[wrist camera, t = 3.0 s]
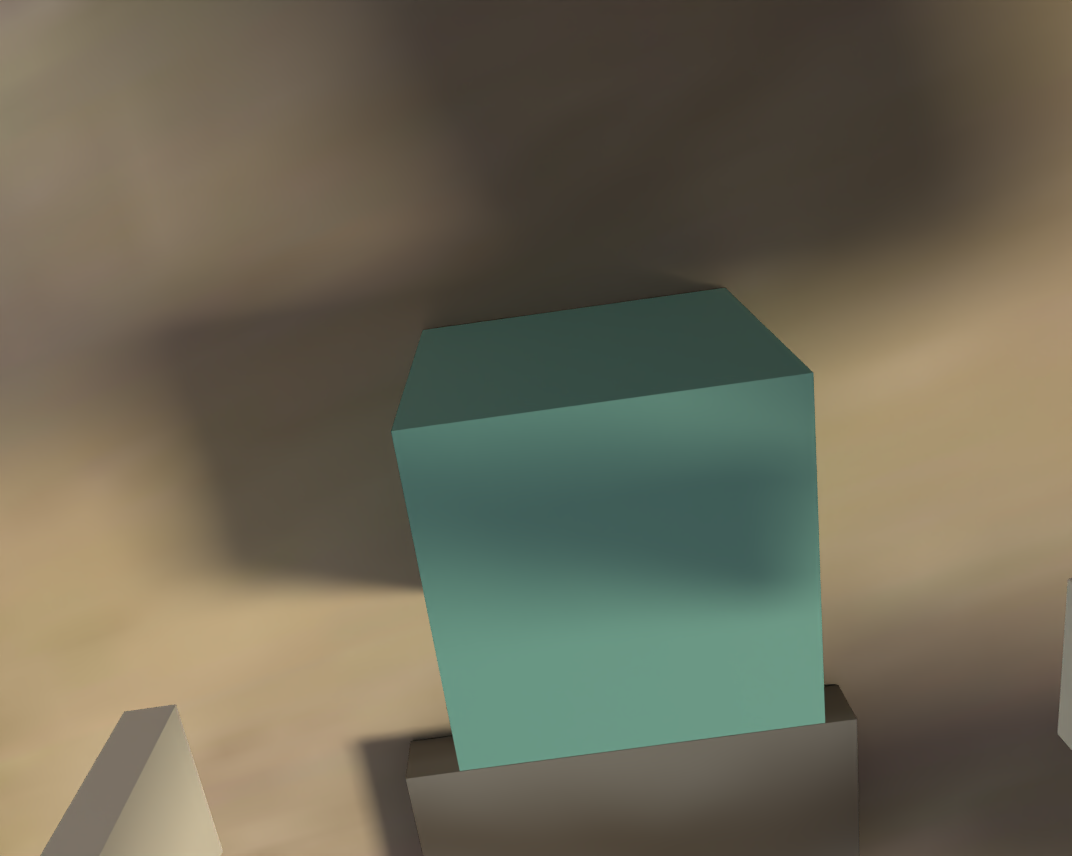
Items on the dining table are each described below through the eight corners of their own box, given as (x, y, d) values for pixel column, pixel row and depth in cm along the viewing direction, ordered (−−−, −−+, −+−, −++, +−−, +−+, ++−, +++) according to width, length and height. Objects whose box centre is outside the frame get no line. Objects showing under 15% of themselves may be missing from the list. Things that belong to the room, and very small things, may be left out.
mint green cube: (422, 329, 23) (391, 431, 16) (725, 287, 22) (813, 372, 16) (471, 593, 25) (460, 771, 19) (742, 556, 25) (825, 723, 19)
